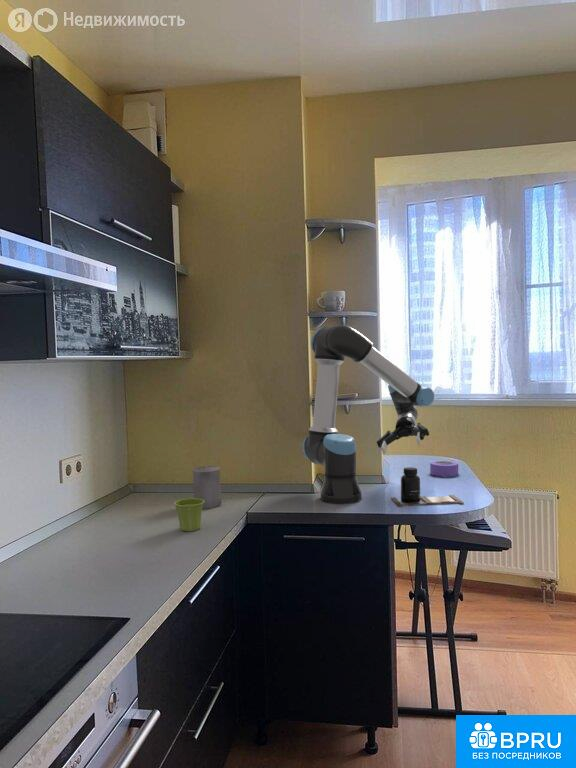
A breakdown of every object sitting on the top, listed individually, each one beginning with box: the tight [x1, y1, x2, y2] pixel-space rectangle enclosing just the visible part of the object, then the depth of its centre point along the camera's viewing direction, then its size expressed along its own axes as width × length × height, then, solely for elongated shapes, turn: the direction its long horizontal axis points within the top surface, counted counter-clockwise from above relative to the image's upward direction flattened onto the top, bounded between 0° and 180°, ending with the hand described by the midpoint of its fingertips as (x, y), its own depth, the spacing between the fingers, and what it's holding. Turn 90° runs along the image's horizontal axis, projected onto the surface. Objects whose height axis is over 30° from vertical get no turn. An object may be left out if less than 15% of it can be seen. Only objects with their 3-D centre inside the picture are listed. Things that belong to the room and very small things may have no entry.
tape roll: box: [429, 460, 459, 477], centre depth 252 cm, size 12×12×5 cm
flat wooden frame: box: [391, 494, 465, 508], centre depth 207 cm, size 23×11×1 cm, turn 93°
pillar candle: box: [192, 464, 222, 510], centre depth 211 cm, size 10×10×15 cm
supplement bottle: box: [400, 466, 421, 504], centre depth 208 cm, size 7×7×12 cm
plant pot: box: [173, 498, 204, 532], centre depth 183 cm, size 9×9×9 cm
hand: (400, 446), depth 215 cm, fingers open, 13 cm apart
